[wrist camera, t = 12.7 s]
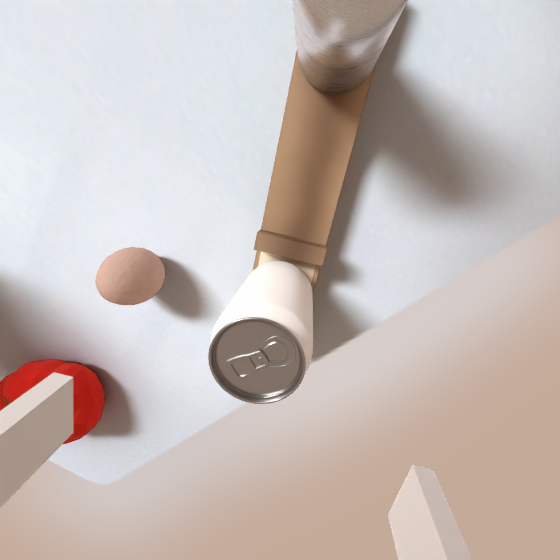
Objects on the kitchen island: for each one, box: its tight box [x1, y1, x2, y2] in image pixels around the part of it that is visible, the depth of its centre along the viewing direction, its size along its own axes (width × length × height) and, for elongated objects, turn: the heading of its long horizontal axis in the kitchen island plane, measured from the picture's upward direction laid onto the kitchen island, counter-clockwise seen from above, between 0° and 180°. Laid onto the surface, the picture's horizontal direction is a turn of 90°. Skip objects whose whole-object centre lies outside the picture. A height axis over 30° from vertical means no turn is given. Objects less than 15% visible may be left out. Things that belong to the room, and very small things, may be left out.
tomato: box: [0, 360, 105, 444], centre depth 34 cm, size 10×11×6 cm
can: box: [209, 261, 313, 404], centre depth 23 cm, size 6×6×12 cm
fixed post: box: [293, 0, 408, 95], centre depth 16 cm, size 6×6×12 cm
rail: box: [253, 51, 376, 294], centre depth 25 cm, size 6×31×4 cm, turn 167°
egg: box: [96, 247, 165, 305], centre depth 28 cm, size 5×5×7 cm
